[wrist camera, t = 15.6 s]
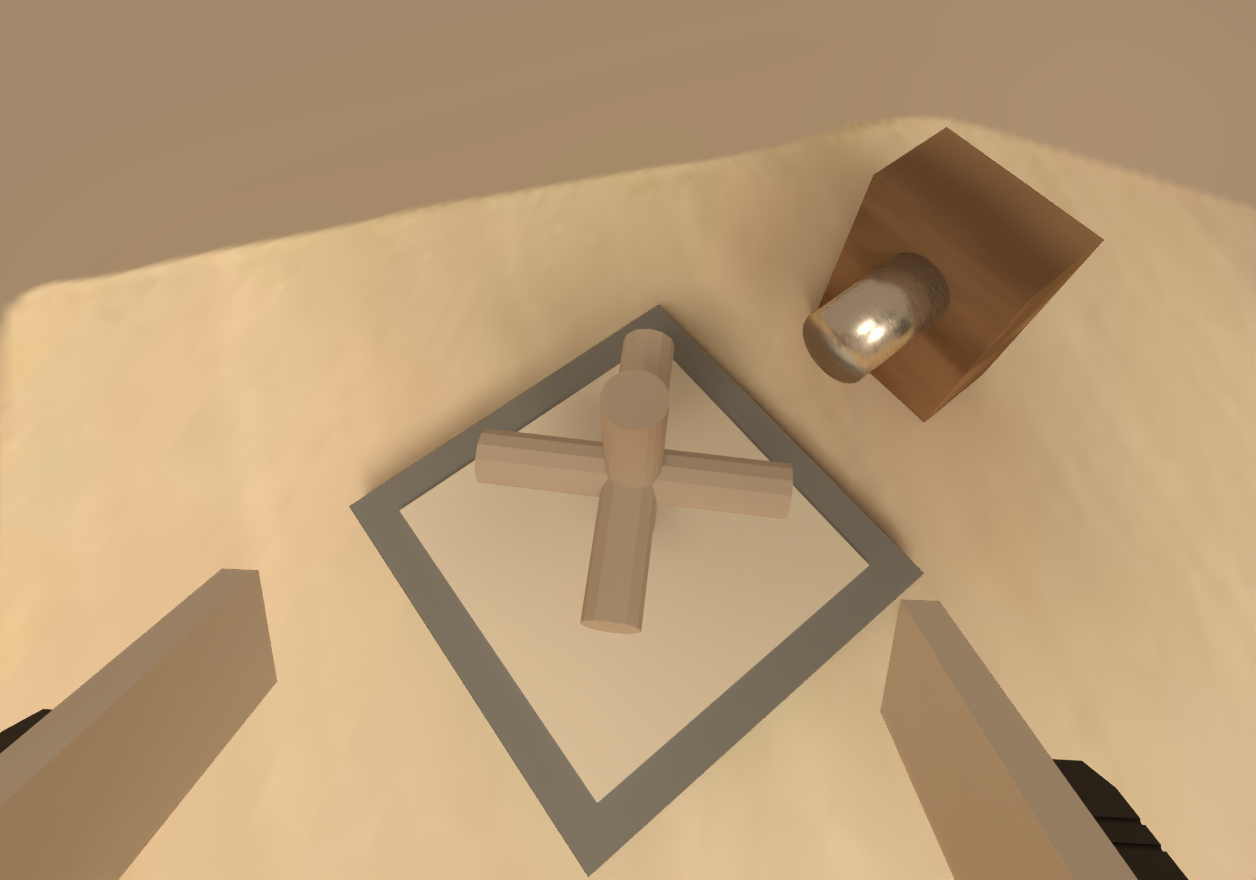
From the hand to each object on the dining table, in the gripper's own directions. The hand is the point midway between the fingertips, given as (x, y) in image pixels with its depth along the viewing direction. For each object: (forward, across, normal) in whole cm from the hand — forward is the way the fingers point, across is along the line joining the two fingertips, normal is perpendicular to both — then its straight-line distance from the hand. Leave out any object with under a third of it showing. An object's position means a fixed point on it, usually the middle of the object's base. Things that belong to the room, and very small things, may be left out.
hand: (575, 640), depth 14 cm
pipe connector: (+12, +1, -3) cm, 13 cm away
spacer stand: (+15, +5, -3) cm, 16 cm away
